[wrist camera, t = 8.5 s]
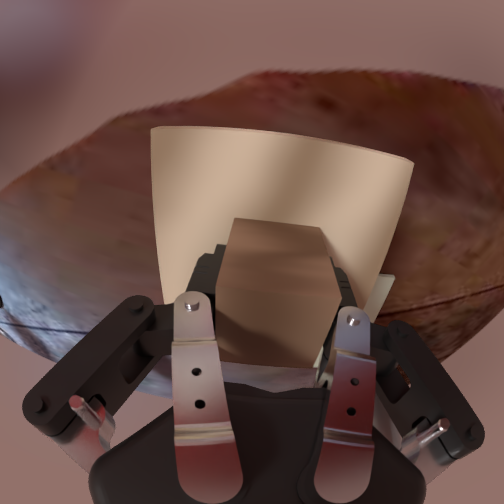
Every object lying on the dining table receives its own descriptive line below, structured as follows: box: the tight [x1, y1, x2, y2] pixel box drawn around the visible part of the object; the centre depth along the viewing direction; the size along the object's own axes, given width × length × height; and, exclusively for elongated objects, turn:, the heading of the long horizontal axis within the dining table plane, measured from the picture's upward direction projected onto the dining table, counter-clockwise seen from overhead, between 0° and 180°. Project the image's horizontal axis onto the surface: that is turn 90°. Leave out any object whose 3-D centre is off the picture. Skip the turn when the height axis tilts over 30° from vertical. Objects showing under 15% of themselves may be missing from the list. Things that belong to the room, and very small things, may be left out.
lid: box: [151, 126, 414, 368], centre depth 12 cm, size 12×12×6 cm
